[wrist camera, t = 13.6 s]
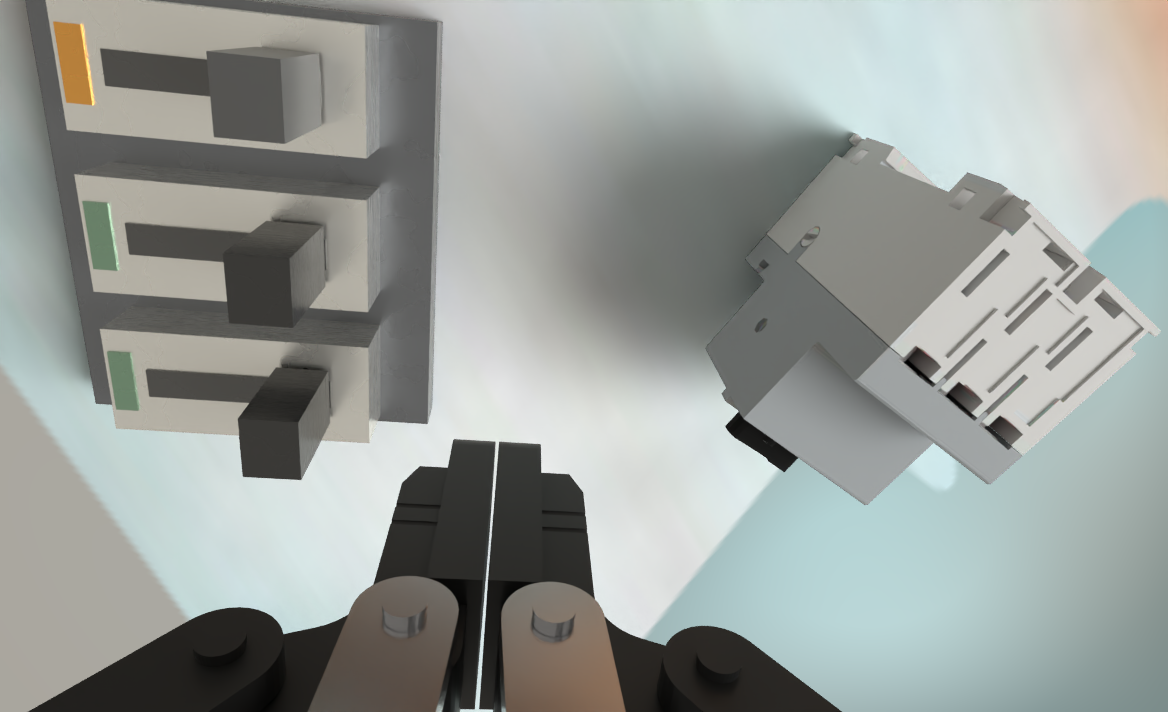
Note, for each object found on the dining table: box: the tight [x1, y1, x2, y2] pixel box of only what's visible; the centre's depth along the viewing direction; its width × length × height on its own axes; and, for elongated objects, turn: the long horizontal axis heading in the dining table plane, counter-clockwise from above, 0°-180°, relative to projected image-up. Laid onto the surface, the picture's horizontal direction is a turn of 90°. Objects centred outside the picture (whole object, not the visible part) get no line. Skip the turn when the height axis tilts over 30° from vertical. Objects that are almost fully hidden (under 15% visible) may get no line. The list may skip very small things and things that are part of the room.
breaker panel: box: [25, 0, 443, 480], centre depth 33 cm, size 20×17×10 cm
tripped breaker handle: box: [206, 47, 321, 144], centre depth 28 cm, size 3×2×5 cm
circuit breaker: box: [706, 133, 1161, 505], centre depth 34 cm, size 8×14×15 cm, turn 142°
